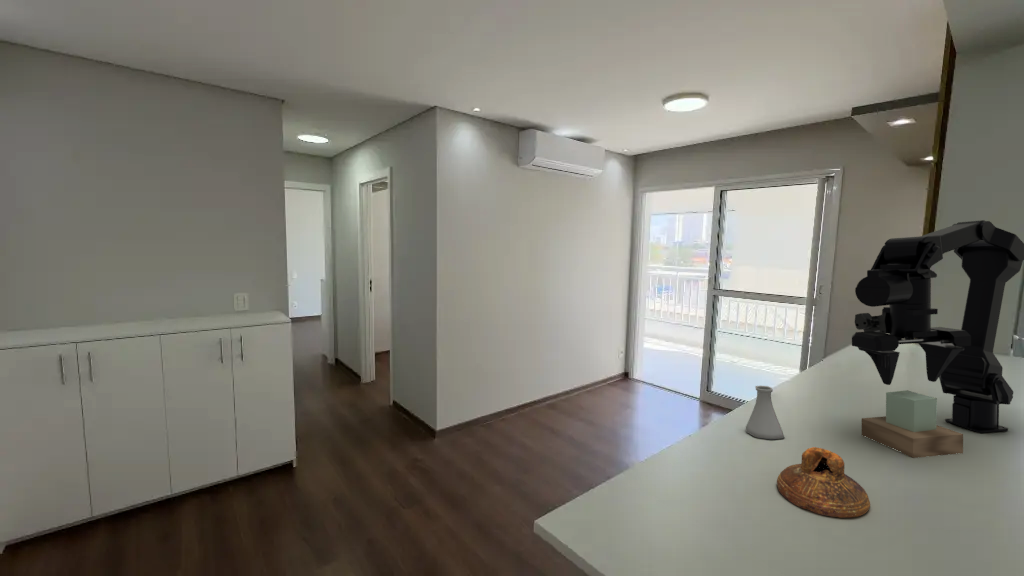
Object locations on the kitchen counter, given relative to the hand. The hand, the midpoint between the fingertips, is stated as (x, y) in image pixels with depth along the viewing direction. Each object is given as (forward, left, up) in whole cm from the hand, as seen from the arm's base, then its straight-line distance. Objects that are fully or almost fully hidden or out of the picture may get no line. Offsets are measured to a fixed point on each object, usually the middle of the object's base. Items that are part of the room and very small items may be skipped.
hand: (909, 382), depth 79 cm
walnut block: (0, 0, -12) cm, 12 cm away
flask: (+23, -9, -12) cm, 28 cm away
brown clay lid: (+30, +14, -12) cm, 35 cm away
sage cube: (0, 0, -8) cm, 8 cm away
